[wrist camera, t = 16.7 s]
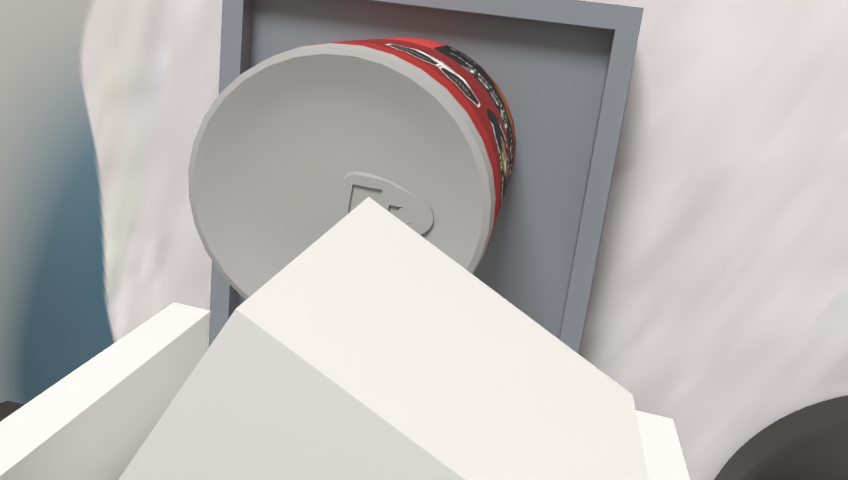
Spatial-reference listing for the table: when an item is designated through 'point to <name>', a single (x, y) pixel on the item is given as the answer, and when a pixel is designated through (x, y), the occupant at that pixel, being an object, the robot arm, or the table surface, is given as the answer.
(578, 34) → the grey tray
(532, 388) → the light grey cube
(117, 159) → the table surface
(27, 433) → the robot arm
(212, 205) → the canned food
